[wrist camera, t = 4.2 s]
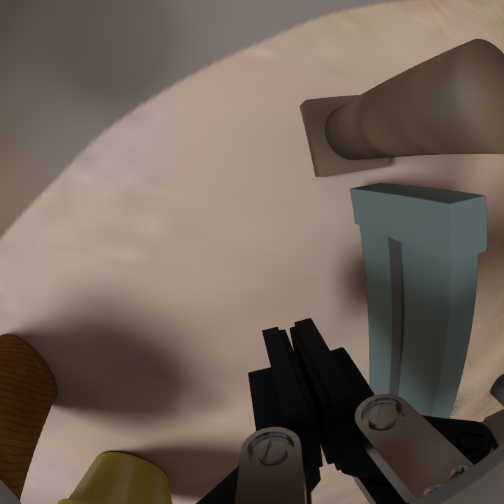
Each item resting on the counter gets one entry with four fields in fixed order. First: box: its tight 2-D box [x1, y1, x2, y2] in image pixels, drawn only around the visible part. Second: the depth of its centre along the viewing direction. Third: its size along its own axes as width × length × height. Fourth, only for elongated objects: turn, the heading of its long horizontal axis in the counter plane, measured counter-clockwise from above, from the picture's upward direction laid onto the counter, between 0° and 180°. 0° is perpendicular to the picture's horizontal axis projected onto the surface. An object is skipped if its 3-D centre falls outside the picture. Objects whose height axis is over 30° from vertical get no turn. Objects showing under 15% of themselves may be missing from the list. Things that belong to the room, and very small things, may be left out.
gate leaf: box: [350, 183, 487, 419], centre depth 11 cm, size 18×2×7 cm, turn 13°
